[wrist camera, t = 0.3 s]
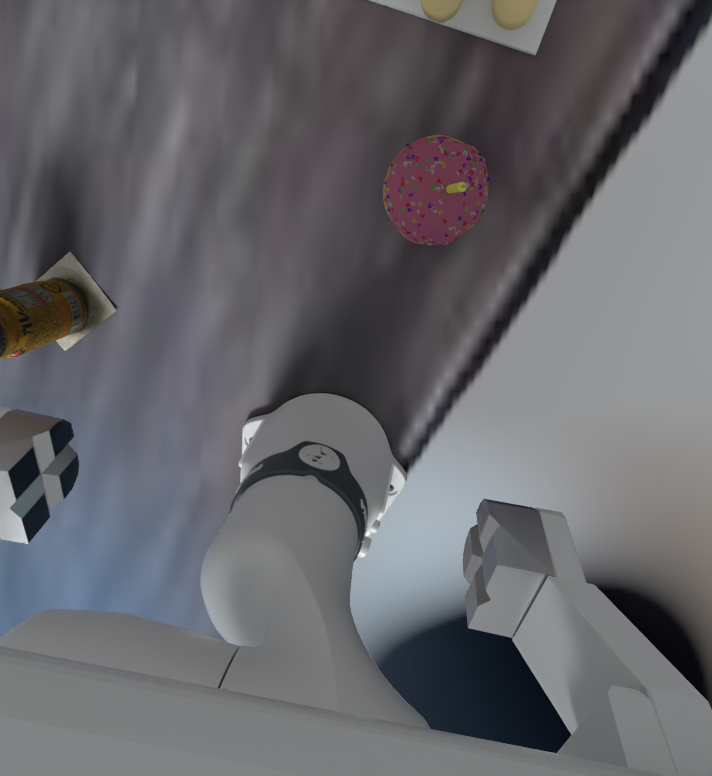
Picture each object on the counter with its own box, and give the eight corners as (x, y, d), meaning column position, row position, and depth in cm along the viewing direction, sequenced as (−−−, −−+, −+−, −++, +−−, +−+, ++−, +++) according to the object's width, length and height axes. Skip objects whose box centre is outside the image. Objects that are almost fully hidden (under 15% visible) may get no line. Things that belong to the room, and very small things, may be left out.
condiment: (19, 295, 56) (-82, 323, 45) (71, 251, 54) (-23, 268, 43) (66, 350, 58) (-20, 390, 47) (118, 310, 55) (39, 342, 44)
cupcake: (473, 125, 45) (487, 106, 34) (492, 225, 47) (511, 239, 36) (376, 156, 46) (359, 148, 35) (400, 251, 49) (391, 271, 38)
